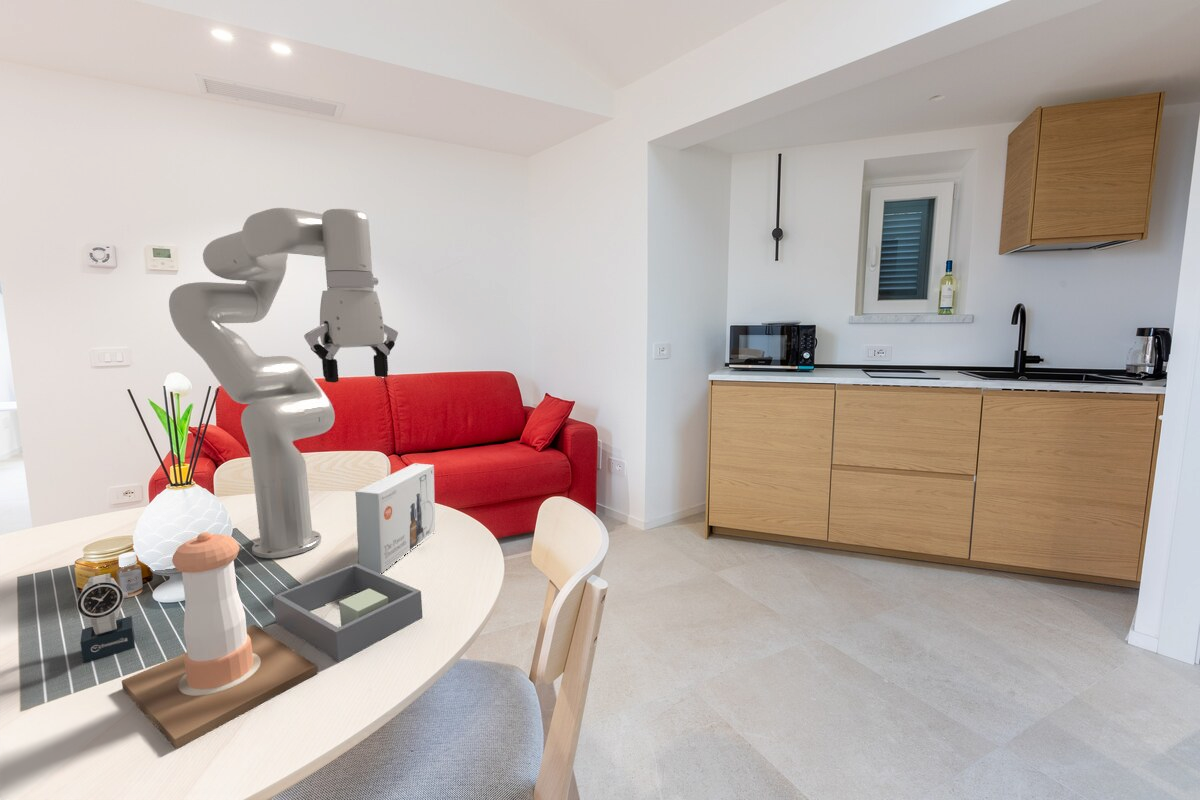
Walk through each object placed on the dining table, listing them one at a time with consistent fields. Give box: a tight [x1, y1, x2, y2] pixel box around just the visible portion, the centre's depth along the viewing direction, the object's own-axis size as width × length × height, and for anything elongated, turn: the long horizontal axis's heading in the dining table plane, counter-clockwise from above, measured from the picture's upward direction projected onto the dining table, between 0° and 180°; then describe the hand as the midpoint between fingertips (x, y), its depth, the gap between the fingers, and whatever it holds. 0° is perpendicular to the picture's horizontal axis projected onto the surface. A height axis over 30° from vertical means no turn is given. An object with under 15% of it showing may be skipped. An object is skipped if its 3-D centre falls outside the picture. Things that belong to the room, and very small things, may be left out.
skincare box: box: [355, 462, 436, 574], centre depth 113 cm, size 21×5×16 cm, turn 168°
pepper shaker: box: [171, 531, 253, 689], centre depth 72 cm, size 7×7×19 cm
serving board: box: [121, 624, 319, 750], centre depth 74 cm, size 18×16×1 cm
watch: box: [76, 572, 136, 664], centre depth 81 cm, size 6×8×11 cm
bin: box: [272, 563, 423, 663], centre depth 88 cm, size 18×14×4 cm
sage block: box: [338, 589, 389, 627], centre depth 85 cm, size 5×5×5 cm
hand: (357, 379), depth 101 cm, fingers open, 9 cm apart
